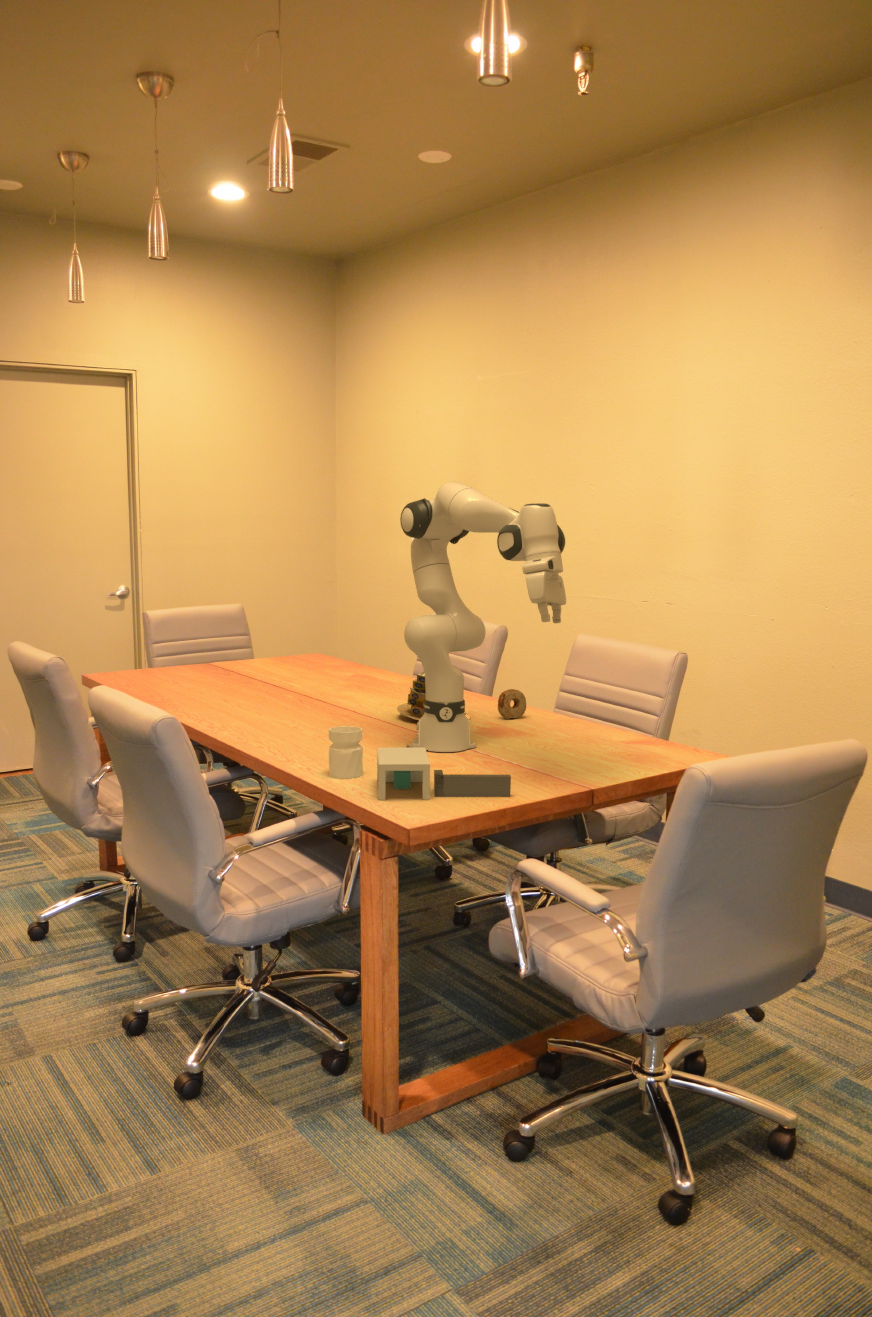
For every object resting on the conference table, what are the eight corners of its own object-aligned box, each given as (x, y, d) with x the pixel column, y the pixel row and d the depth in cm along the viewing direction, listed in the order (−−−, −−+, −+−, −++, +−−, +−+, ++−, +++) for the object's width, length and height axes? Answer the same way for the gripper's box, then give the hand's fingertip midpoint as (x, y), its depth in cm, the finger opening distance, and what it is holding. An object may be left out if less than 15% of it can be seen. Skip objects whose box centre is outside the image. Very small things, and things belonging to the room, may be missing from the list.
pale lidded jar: (366, 777, 252) (366, 731, 250) (333, 780, 249) (333, 733, 247) (357, 770, 260) (357, 725, 259) (325, 772, 257) (325, 727, 256)
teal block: (393, 785, 246) (393, 769, 245) (409, 784, 246) (409, 769, 245) (394, 789, 242) (394, 773, 241) (410, 789, 242) (410, 773, 241)
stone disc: (501, 720, 331) (502, 691, 330) (496, 718, 334) (496, 689, 333) (528, 718, 335) (528, 689, 334) (522, 716, 339) (523, 687, 338)
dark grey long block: (433, 790, 241) (434, 769, 240) (507, 790, 242) (507, 770, 241) (434, 797, 235) (435, 776, 234) (510, 797, 236) (510, 776, 235)
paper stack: (484, 718, 336) (485, 669, 334) (440, 728, 317) (441, 677, 314) (427, 709, 351) (427, 662, 349) (382, 719, 331) (382, 669, 329)
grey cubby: (377, 780, 249) (377, 747, 248) (424, 780, 250) (425, 747, 249) (378, 800, 231) (378, 764, 230) (429, 799, 232) (430, 764, 231)
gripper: (544, 572, 255) (551, 625, 254) (519, 565, 236) (527, 623, 235) (568, 568, 252) (575, 621, 252) (544, 561, 233) (552, 619, 233)
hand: (551, 622), depth 243 cm, fingers open, 8 cm apart
